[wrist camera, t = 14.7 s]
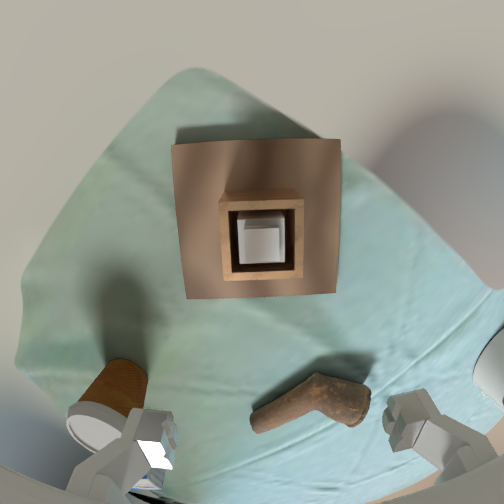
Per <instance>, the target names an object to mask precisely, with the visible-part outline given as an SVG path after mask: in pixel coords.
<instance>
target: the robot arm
mask: <svg viewBox="0 0 504 504" xmlns="http://www.w3.org/2000/svg"><path fill="white" fill-rule="evenodd" d="M473 382H474V384H475V385H476V386H477V387H479V388H480V389H481V393H482V394H483V395H484V396H488V397H489V398H490V399H491V400H492V401H493V402H494V403H495V404H496V405H497V406H498V407H499V408H500V409H501V411H502V412H503V413H504V328H503V329H502V330H501V331H500V332H499V333H498V334H497V335H496V336H495V337H494V338H493V339H492V340H491V341H490V343H489V344H488V345H487V347H486V348H485V349H484V351H483V352H482V354H481V356H480V358H479V359H478V361H477V364H476V366H475V369H474V373H473ZM387 405H388V407H387V408H386V409H385V410H384V412H383V416H382V423H383V427H384V430H385V432H386V433H388V434H389V435H390V438H389V443H390V445H391V448H392V450H393V452H398V451H402V450H406V449H410V448H412V449H413V450H414V451H416V452H417V453H418V454H419V455H421V456H422V457H423V458H425V459H426V460H427V461H428V462H430V463H431V464H432V465H434V466H435V467H436V468H438V469H439V470H440V471H442V472H441V474H440V475H439V476H438V478H437V479H436V480H435V482H434V484H435V486H432V487H429V488H427V489H424V490H421V491H418V492H415V493H412V494H409V495H405V496H402V497H399V498H395V499H392V500H388V501H384V502H381V503H376V504H504V454H502V455H501V456H499V457H498V455H497V453H496V452H495V450H494V448H493V447H492V445H491V443H490V442H489V440H488V438H487V437H486V436H485V435H483V434H481V433H479V432H477V431H475V430H473V429H471V428H469V427H467V426H465V425H463V424H461V423H460V422H458V421H456V420H454V419H452V418H450V417H448V416H446V415H441V414H440V412H439V410H438V409H437V407H436V405H435V404H434V402H433V400H432V399H431V397H430V396H429V394H428V392H427V391H426V390H425V389H424V388H423V389H419V390H415V391H410V392H406V393H402V394H397V395H393V396H390V397H389V398H388V400H387ZM173 418H174V417H173V415H172V412H170V411H159V410H150V409H140V408H133V409H132V410H131V411H130V413H129V416H128V418H127V421H126V424H125V426H124V429H123V432H122V434H121V437H120V438H116V439H115V440H113V441H112V442H110V443H109V444H108V445H106V446H105V447H103V448H102V449H101V450H99V451H98V452H96V453H95V454H94V455H92V456H91V457H89V458H88V459H87V460H85V461H83V462H82V463H80V464H79V465H78V466H76V467H75V469H74V471H73V474H72V476H71V479H70V481H69V483H68V486H67V489H66V491H63V490H60V489H57V488H54V487H52V486H49V485H47V484H44V483H41V482H39V481H37V480H34V479H32V478H29V477H27V476H25V475H22V474H20V473H18V472H16V471H13V470H12V469H9V468H8V467H6V466H3V465H1V464H0V504H131V503H130V501H129V500H128V499H127V498H126V497H125V496H124V495H125V494H126V493H127V492H128V491H129V490H130V489H131V488H132V487H133V486H134V485H135V484H136V483H137V482H138V481H139V480H140V479H141V478H142V477H143V476H144V475H145V474H146V473H147V472H148V471H149V470H150V469H151V467H155V468H166V469H173V464H174V459H175V454H174V452H173V450H174V449H175V448H176V447H177V444H178V429H177V426H176V424H174V423H173Z"/></svg>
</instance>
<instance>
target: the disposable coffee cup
mask: <svg viewBox="0 0 504 504" xmlns="http://www.w3.org/2000/svg"><path fill="white" fill-rule="evenodd" d="M147 384H148V380H147V376H146V374H145V373H144V371H143V370H142V369H141V368H140V367H139V366H138V365H136V364H135V363H133V362H131V361H128V360H125V359H114V360H112V361H110V362H109V363H108V364H107V365H106V367H105V368H104V369H103V370H102V372H101V373H100V374H99V375H98V377H97V378H96V379H95V380H94V382H93V383H92V384H91V385H90V387H89V388H88V389H87V390H86V392H85V393H84V394H83V395H82V397H81V398H80V399H79V400H78V402H77V403H75V404H73V405H72V406H70V407H69V408H68V410H67V413H66V414H67V422H66V425H67V428H68V431H69V432H70V434H71V435H72V436H73V438H74V439H75V440H76V441H77V442H79V443H80V444H81V445H83V446H84V447H85V448H87V449H88V450H90V451H92V452H94V453H96V452H98V451H99V450H101V449H102V448H103V447H105V446H106V445H108V444H109V443H110V442H112V441H113V440H115V439H116V438H120V437H121V434H122V432H123V429H124V426H125V424H126V421H127V418H128V416H129V413H130V411H131V410H132V409H133V408H140V409H143V406H144V400H145V393H146V389H147Z"/></svg>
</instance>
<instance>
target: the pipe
mask: <svg viewBox="0 0 504 504" xmlns="http://www.w3.org/2000/svg"><path fill="white" fill-rule="evenodd" d="M370 396H371V390H370V389H369V388H368V387H367V386H366V385H364V384H359V383H355V382H351V381H348V380H344V379H340V378H335V377H330V376H325V375H322V374H320V373H313V374H312V375H311V376H310V377H309V378H308V379H307V380H305V381H304V382H302V383H301V384H299V385H298V386H296V387H295V388H293V389H292V390H290V391H288V392H287V393H286V394H284V395H282V396H281V397H279V398H277V399H276V400H274V401H272V402H270V403H268V404H266V405H265V406H263V407H261V408H259V409H257V410H256V411H254V412H253V413H251V415H250V419H249V420H250V424H251V426H252V429H253V431H255V433H257V434H260V433H263V432H266V431H269V430H271V429H274V428H276V427H279V426H281V425H283V424H285V423H287V422H290V421H292V420H294V419H297V418H298V417H301V416H303V415H305V414H306V413H308V412H310V411H313V410H318V411H320V412H322V413H323V414H325V415H326V416H328V417H329V418H331V419H333V420H335V421H337V422H340V423H344V424H346V425H348V427H355V426H357V425H359V424H360V423H361V422H362V421H363V420H364V418H365V416H366V414H367V412H368V410H369V405H370V401H371V397H370Z"/></svg>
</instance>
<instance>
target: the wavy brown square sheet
mask: <svg viewBox="0 0 504 504" xmlns="http://www.w3.org/2000/svg"><path fill="white" fill-rule="evenodd" d="M171 154H172V169H173V182H174V194H175V205H176V215H177V225H178V234H179V243H180V252H181V260H182V268H183V276H184V283H185V291H186V298H187V299H219V298H249V297H273V296H293V295H310V294H327V293H336V283H337V269H338V252H339V231H340V196H341V142H340V139H310V138H287V139H248V140H228V141H213V142H199V143H188V144H178V145H171ZM257 189H294V190H295V191H296V192H297V193H298V194H299V195H300V196H301V197H302V198H303V199H304V250H303V278H290V279H267V280H241V281H224V278H223V265H222V252H221V238H220V223H219V208H218V202H219V200H220V198H221V196H222V194H223V192H224V191H233V190H257ZM233 225H234V243H235V249H239V259H240V264H249V263H273V262H285V247H286V209H263V210H238V211H233Z"/></svg>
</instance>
